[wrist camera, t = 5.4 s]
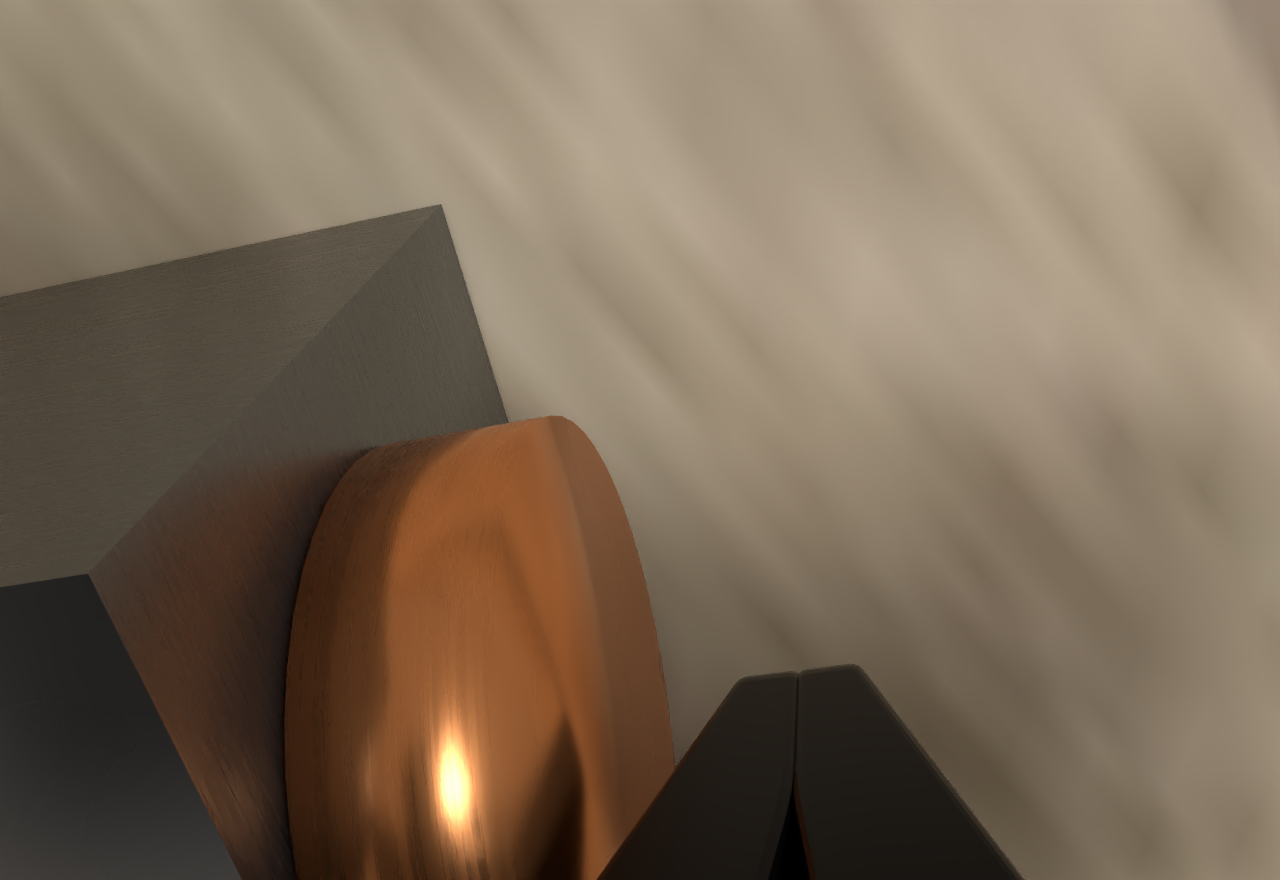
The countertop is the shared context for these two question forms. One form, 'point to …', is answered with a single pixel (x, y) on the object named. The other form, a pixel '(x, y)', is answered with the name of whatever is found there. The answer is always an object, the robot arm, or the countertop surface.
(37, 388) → the drawbar block
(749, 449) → the countertop surface
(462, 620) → the pin
